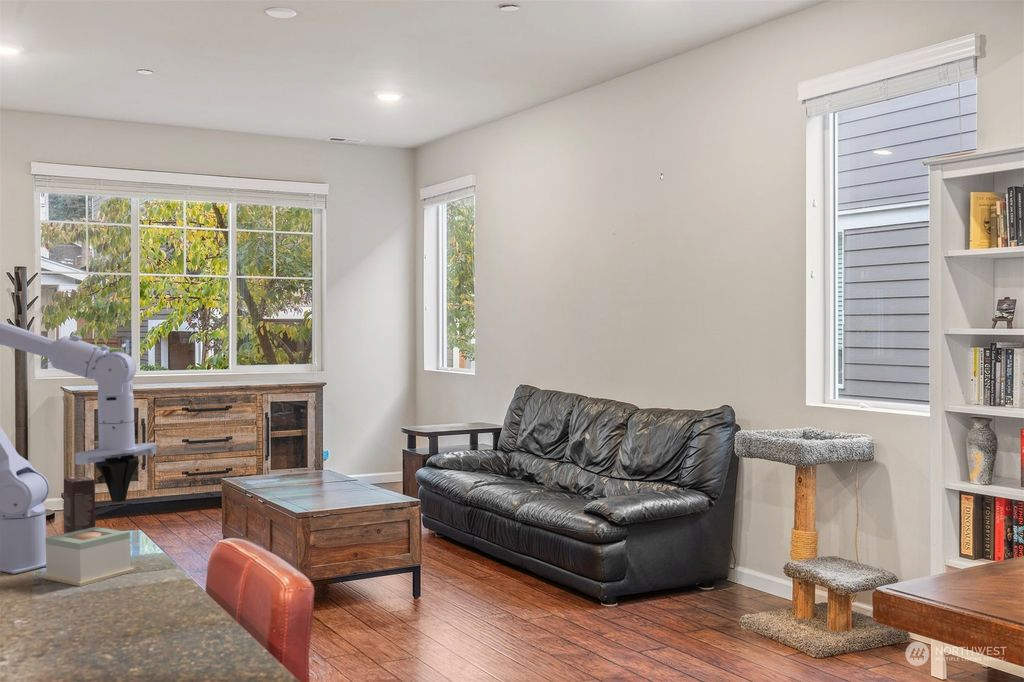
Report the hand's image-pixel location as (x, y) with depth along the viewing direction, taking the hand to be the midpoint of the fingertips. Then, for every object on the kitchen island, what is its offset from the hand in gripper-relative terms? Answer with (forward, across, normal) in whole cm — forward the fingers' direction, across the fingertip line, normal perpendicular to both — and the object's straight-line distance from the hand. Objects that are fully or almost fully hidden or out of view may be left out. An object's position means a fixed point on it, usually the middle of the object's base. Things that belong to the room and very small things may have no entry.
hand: (118, 501), depth 161 cm
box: (+11, +6, +20) cm, 23 cm away
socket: (+10, -8, -3) cm, 13 cm away
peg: (+10, -8, -3) cm, 13 cm away
